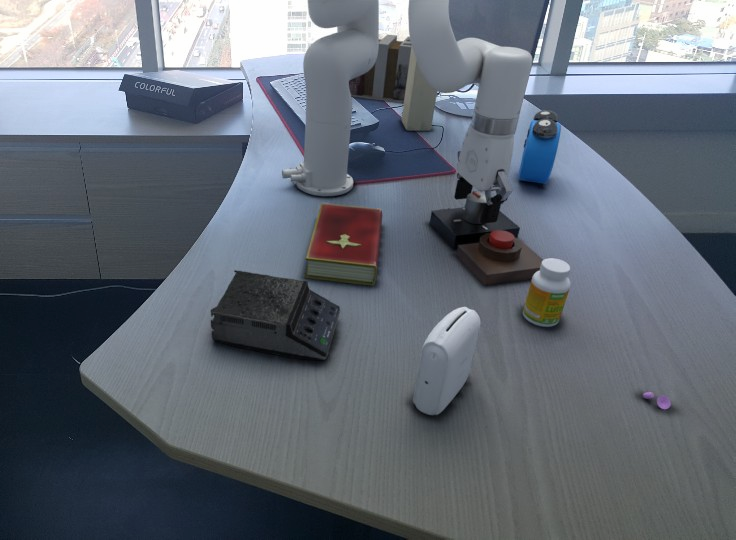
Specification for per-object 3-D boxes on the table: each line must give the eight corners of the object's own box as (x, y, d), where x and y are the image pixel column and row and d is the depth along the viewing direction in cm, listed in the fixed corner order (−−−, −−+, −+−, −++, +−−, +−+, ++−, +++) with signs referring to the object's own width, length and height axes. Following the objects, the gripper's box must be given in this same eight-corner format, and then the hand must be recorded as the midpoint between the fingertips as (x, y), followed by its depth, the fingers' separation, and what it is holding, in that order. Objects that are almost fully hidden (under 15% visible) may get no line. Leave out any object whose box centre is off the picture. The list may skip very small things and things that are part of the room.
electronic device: (326, 365, 90) (329, 331, 87) (210, 343, 94) (209, 310, 91) (340, 316, 100) (343, 284, 96) (234, 298, 104) (234, 267, 100)
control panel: (453, 249, 117) (456, 234, 115) (429, 224, 125) (431, 209, 124) (516, 241, 120) (520, 227, 118) (488, 217, 128) (492, 203, 126)
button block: (484, 285, 107) (488, 265, 105) (455, 255, 115) (459, 236, 113) (547, 277, 109) (553, 257, 107) (515, 248, 118) (520, 229, 115)
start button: (496, 251, 110) (498, 242, 109) (484, 239, 113) (485, 231, 112) (516, 248, 110) (519, 239, 109) (504, 237, 114) (506, 228, 113)
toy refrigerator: (434, 131, 169) (447, 49, 157) (406, 131, 169) (417, 49, 157) (427, 120, 175) (439, 41, 164) (401, 120, 175) (411, 41, 164)
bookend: (349, 80, 207) (353, 28, 198) (427, 89, 199) (434, 35, 190) (335, 94, 195) (339, 39, 186) (417, 104, 187) (425, 48, 178)
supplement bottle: (541, 331, 97) (558, 278, 91) (514, 313, 101) (528, 260, 95) (566, 321, 99) (584, 269, 94) (539, 303, 103) (554, 252, 98)
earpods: (659, 412, 85) (664, 400, 85) (667, 411, 83) (672, 400, 83) (638, 399, 85) (644, 388, 85) (646, 399, 83) (651, 387, 84)
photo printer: (437, 421, 81) (453, 346, 74) (407, 406, 83) (420, 331, 77) (471, 379, 88) (489, 307, 81) (442, 366, 90) (458, 294, 83)
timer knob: (491, 223, 119) (496, 200, 117) (469, 225, 119) (474, 202, 116) (479, 212, 123) (484, 189, 120) (458, 214, 122) (463, 192, 120)
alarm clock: (545, 194, 137) (563, 127, 128) (515, 189, 139) (531, 123, 130) (546, 171, 147) (563, 107, 139) (518, 167, 149) (533, 104, 141)
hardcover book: (381, 227, 124) (383, 207, 122) (375, 285, 107) (378, 264, 105) (320, 220, 126) (321, 201, 124) (304, 277, 109) (305, 256, 107)
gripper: (451, 107, 117) (435, 191, 126) (501, 142, 103) (479, 234, 112) (488, 105, 118) (470, 188, 128) (542, 139, 104) (517, 230, 114)
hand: (474, 209), depth 120 cm, fingers open, 9 cm apart
